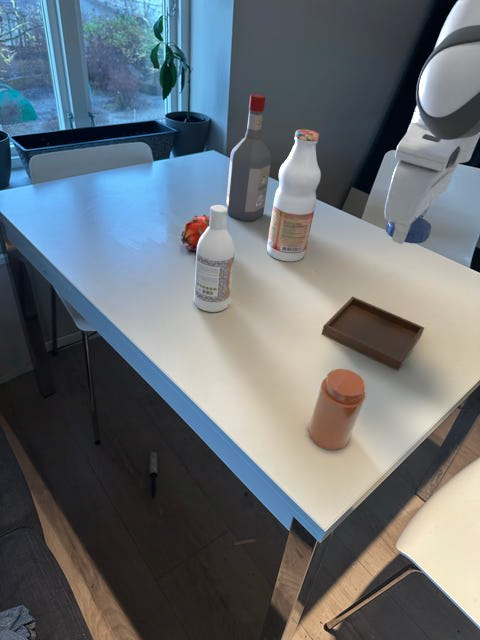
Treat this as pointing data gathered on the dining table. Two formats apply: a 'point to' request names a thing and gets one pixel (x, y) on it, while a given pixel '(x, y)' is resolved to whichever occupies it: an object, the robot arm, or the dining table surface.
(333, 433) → the jar
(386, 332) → the tray
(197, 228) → the dragon fruit
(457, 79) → the robot arm
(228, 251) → the bath foam
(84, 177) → the dining table surface
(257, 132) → the liquor
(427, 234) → the jar lid
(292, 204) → the fruit juice
